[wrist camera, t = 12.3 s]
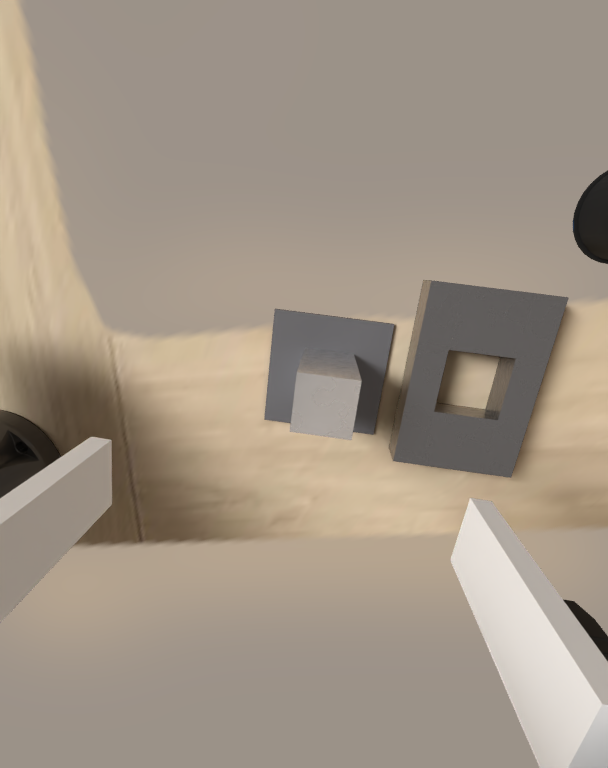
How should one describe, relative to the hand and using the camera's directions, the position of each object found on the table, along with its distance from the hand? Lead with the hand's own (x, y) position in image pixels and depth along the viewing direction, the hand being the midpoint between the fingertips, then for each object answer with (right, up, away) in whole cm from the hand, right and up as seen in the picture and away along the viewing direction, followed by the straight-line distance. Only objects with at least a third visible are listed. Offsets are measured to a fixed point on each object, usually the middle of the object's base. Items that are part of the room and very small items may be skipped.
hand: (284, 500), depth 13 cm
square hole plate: (+17, +5, +25) cm, 30 cm away
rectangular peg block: (+3, +5, +25) cm, 26 cm away
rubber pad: (+3, +5, +25) cm, 26 cm away
